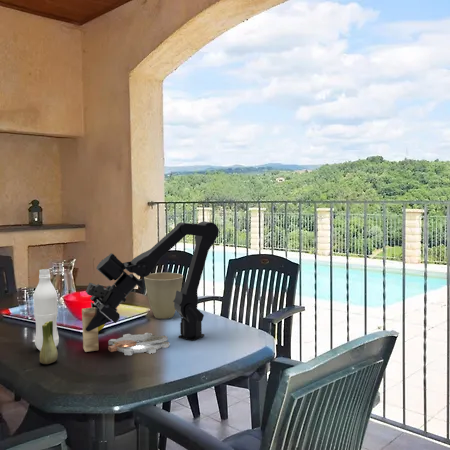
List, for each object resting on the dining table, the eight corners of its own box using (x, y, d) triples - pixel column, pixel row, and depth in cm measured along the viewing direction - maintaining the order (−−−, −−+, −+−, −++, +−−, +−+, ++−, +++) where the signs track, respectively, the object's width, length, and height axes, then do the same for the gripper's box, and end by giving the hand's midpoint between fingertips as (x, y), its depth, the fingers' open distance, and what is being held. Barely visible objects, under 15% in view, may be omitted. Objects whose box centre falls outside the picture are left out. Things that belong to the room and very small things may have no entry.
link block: (96, 346, 165) (95, 307, 164) (98, 350, 161) (97, 310, 160) (83, 348, 163) (81, 308, 162) (85, 352, 160) (83, 311, 159)
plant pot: (136, 318, 200) (135, 277, 199) (161, 310, 213) (160, 271, 212) (167, 323, 193) (167, 280, 191) (191, 314, 205) (190, 274, 204)
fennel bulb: (51, 358, 155) (49, 318, 154) (62, 361, 153) (61, 320, 152) (35, 364, 150) (33, 323, 149) (47, 367, 148) (45, 325, 147)
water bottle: (63, 346, 167) (61, 268, 164) (49, 353, 160) (46, 272, 158) (45, 344, 169) (42, 267, 167) (29, 351, 162) (27, 271, 160)
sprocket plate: (180, 342, 170) (180, 338, 170) (141, 358, 154) (141, 354, 154) (137, 333, 181) (136, 329, 180) (95, 348, 165) (95, 343, 165)
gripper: (95, 269, 170) (61, 306, 167) (107, 278, 153) (69, 320, 150) (120, 290, 174) (87, 327, 171) (134, 302, 157) (98, 343, 154)
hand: (85, 328), depth 161 cm, fingers closed on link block, 4 cm apart
